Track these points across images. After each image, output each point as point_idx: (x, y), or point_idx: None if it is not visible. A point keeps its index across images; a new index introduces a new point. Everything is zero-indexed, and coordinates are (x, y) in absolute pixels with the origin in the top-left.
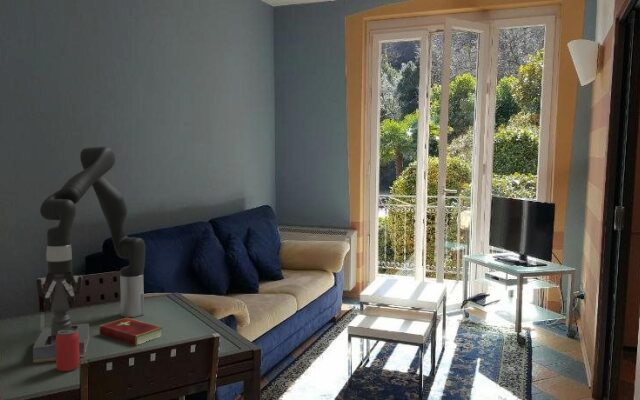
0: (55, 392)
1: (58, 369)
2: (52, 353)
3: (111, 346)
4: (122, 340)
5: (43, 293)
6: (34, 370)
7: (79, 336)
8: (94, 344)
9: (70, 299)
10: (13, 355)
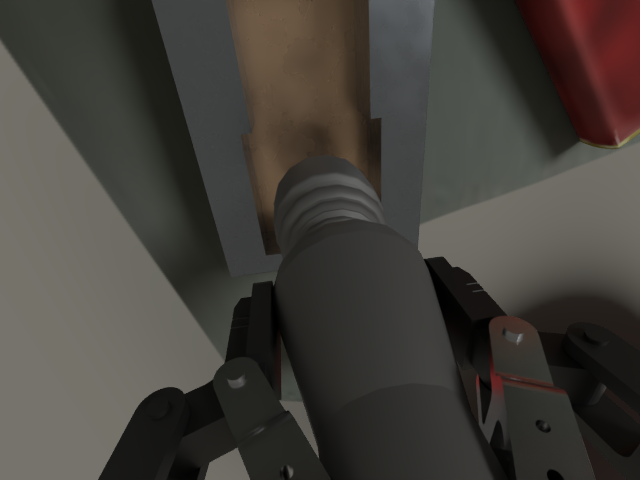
0: None
1: None
2: None
3: (493, 128)
4: (550, 70)
5: (206, 461)
6: None
7: (395, 171)
8: (430, 83)
9: (453, 345)
10: (114, 155)
